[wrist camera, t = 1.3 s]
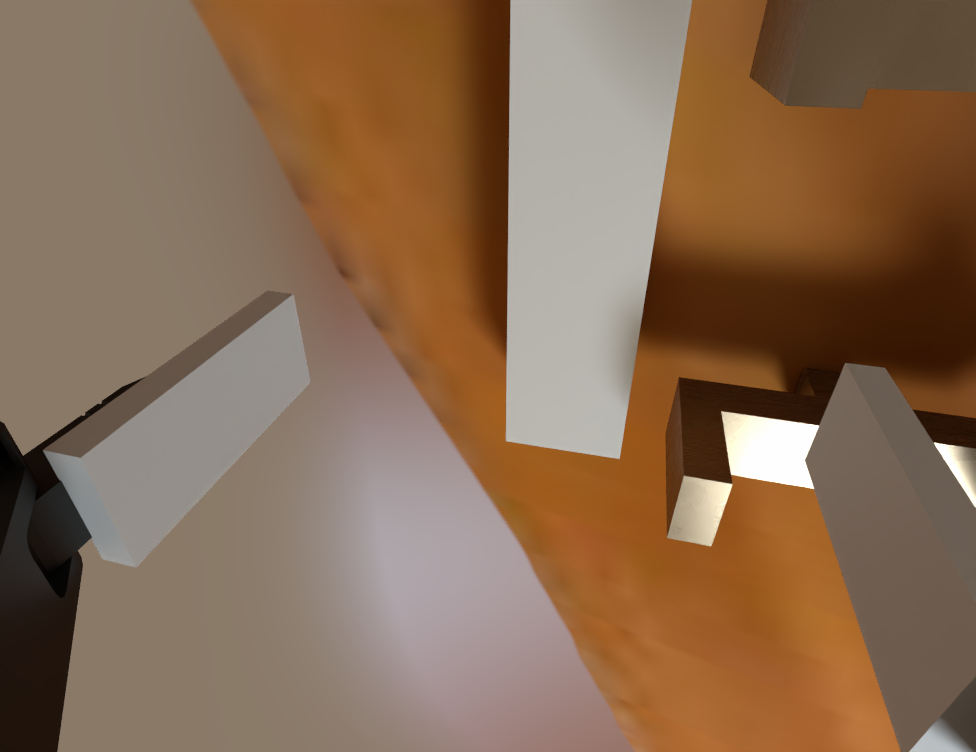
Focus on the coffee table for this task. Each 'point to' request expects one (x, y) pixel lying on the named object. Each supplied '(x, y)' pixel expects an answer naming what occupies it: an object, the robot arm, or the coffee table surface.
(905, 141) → the coffee table surface
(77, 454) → the robot arm
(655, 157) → the rail
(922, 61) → the cup bracket
